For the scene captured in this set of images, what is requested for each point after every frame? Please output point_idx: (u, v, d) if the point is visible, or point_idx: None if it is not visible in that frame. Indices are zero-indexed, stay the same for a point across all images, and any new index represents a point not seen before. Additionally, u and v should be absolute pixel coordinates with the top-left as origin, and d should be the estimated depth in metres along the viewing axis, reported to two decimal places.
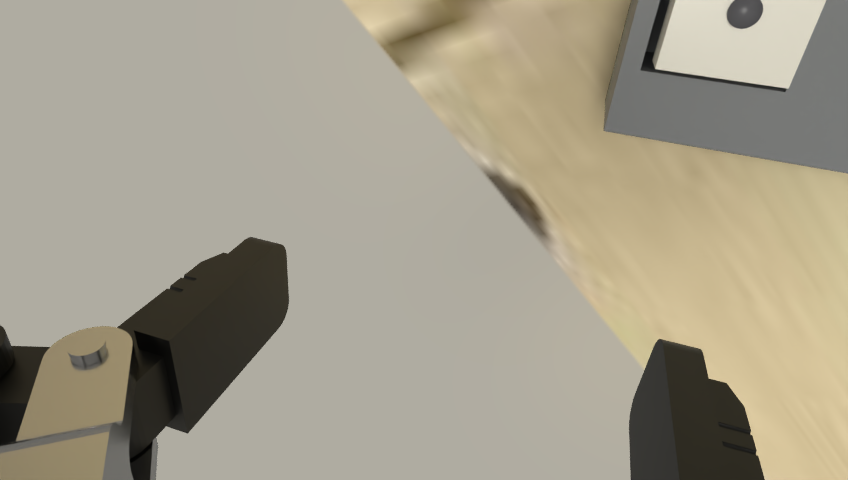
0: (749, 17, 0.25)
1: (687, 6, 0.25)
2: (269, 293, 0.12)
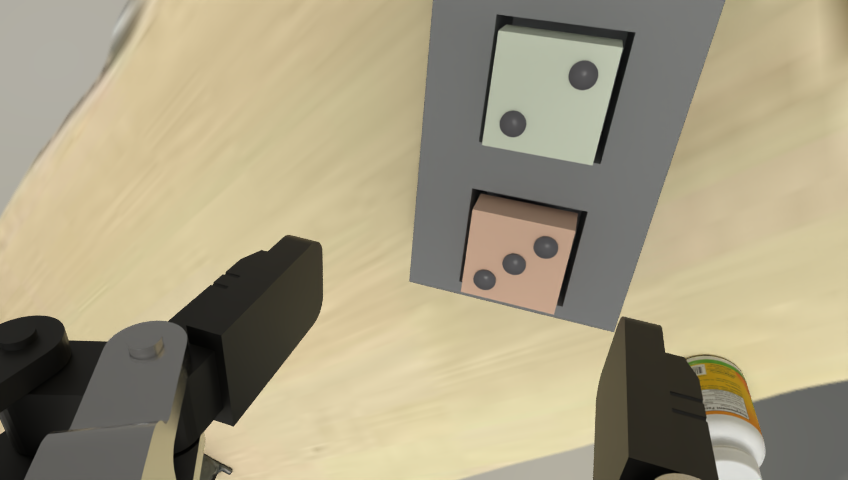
0: None
1: None
2: (307, 290, 0.12)
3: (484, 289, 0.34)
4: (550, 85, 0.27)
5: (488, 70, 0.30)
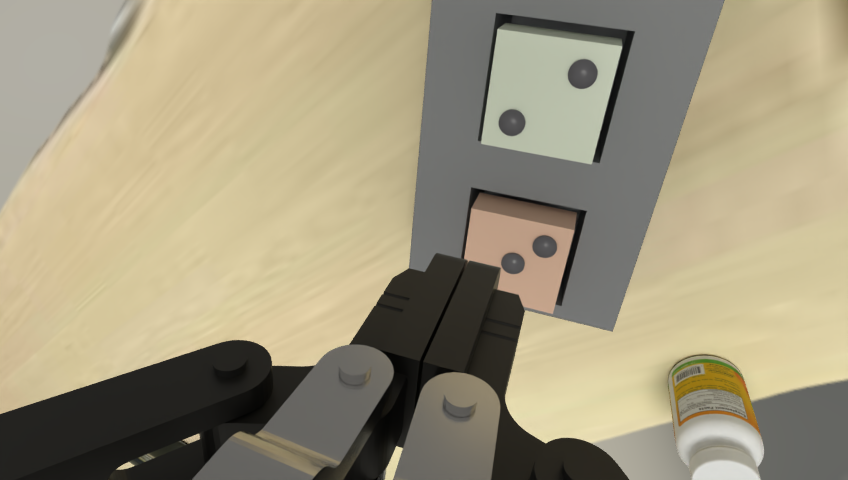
0: None
1: None
2: None
3: None
4: (549, 84, 0.27)
5: (487, 69, 0.30)
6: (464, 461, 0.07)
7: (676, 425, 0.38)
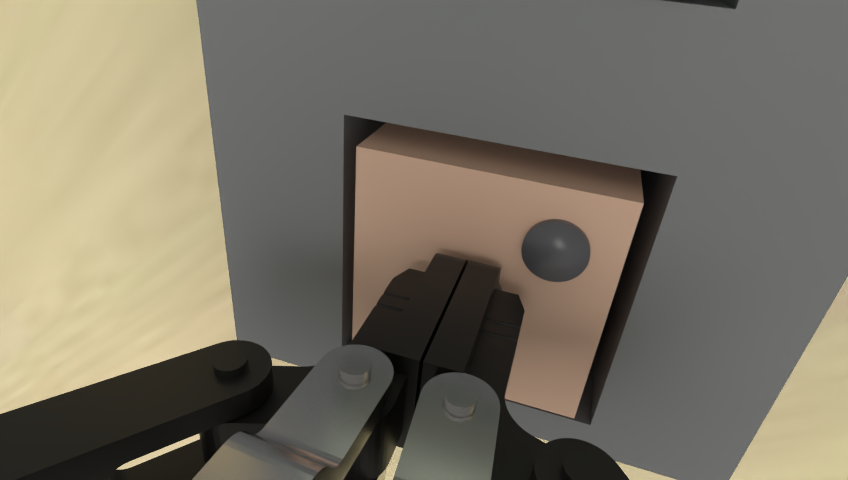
0: None
1: None
2: None
3: None
4: None
5: None
6: (464, 461, 0.07)
7: None
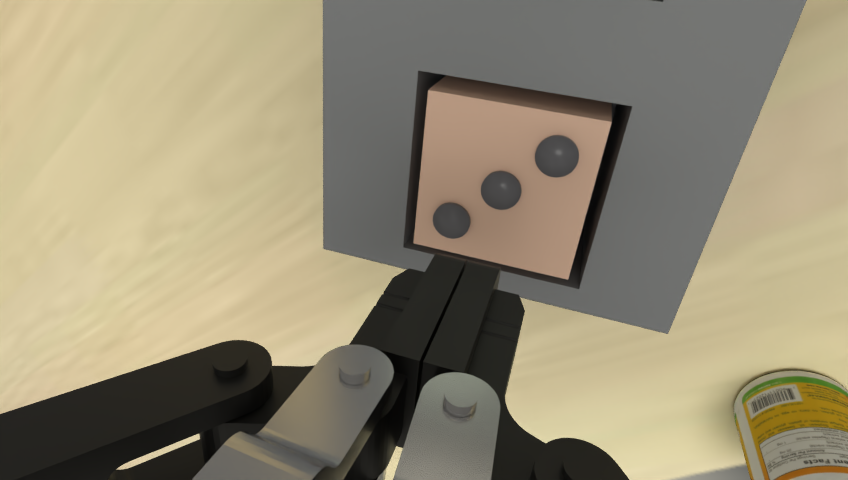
0: None
1: None
2: None
3: (451, 237, 0.20)
4: None
5: None
6: (464, 461, 0.07)
7: None
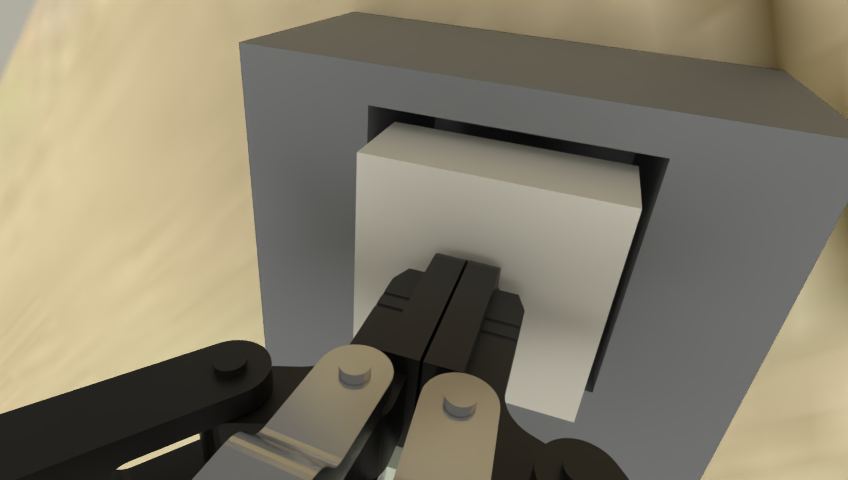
0: None
1: (484, 203, 0.11)
2: None
3: None
4: None
5: None
6: (464, 461, 0.07)
7: None
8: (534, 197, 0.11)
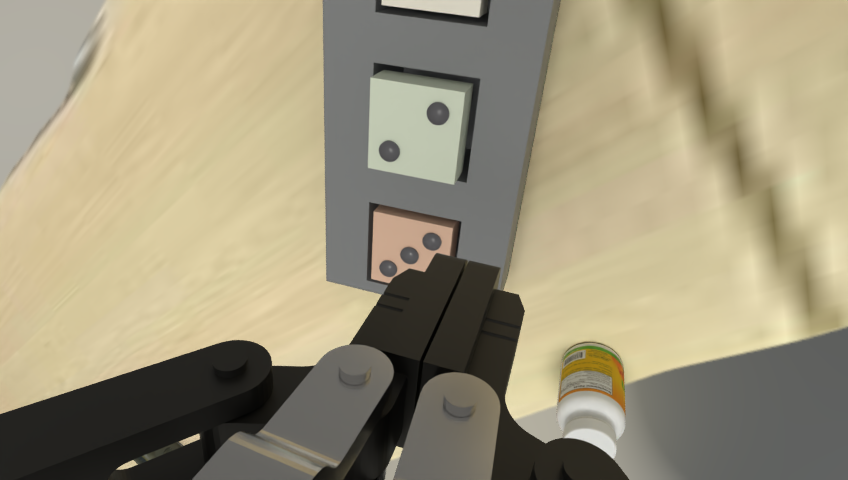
0: None
1: None
2: None
3: (388, 276, 0.42)
4: (414, 121, 0.34)
5: None
6: (464, 461, 0.07)
7: (557, 402, 0.45)
8: None
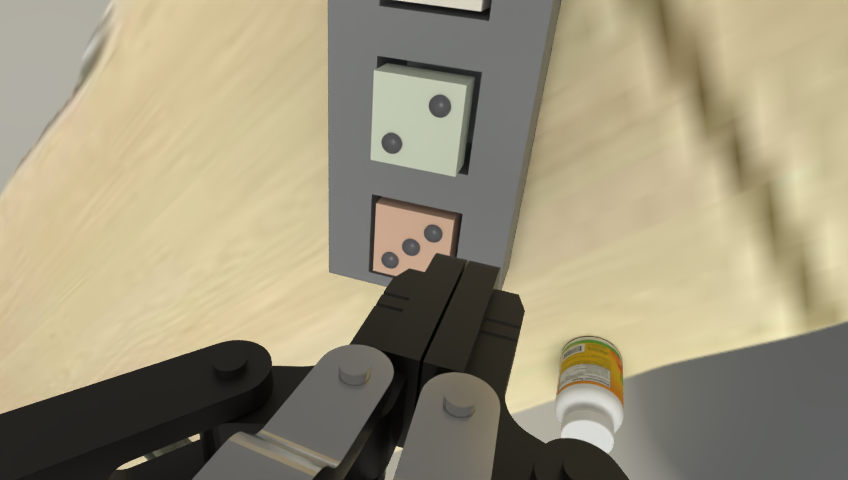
0: None
1: None
2: None
3: (390, 268, 0.42)
4: (416, 113, 0.34)
5: None
6: (464, 461, 0.07)
7: (556, 394, 0.46)
8: None
